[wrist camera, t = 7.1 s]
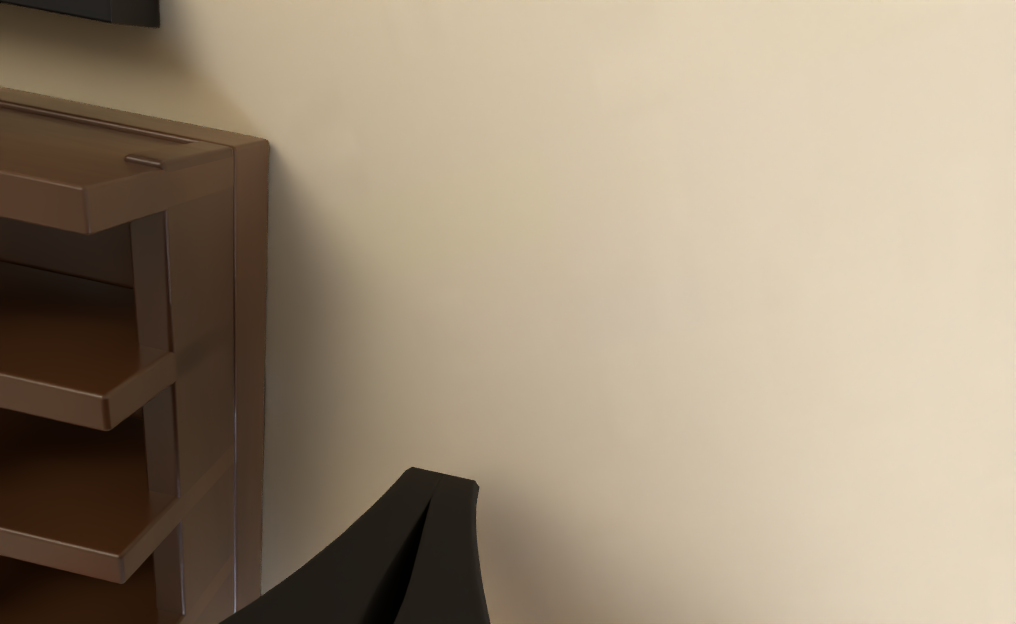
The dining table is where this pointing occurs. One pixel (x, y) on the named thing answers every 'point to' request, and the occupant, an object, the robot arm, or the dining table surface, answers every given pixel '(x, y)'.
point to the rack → (129, 365)
